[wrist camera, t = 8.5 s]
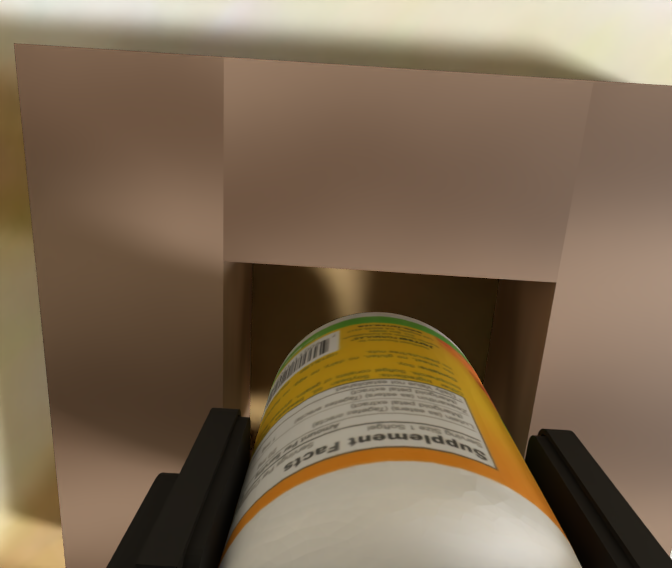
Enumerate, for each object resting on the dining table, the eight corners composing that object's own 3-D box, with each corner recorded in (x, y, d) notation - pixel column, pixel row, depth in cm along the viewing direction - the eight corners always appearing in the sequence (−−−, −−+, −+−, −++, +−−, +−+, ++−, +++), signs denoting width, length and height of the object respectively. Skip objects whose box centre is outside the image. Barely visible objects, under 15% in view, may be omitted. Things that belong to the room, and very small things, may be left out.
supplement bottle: (465, 497, 14) (686, 1168, 5) (269, 486, 14) (127, 1135, 5) (491, 312, 13) (872, 776, 4) (273, 300, 13) (85, 727, 4)
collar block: (101, 67, 14) (13, 42, 11) (681, 104, 14) (803, 94, 11) (129, 545, 19) (73, 650, 15) (573, 573, 19) (631, 686, 15)
